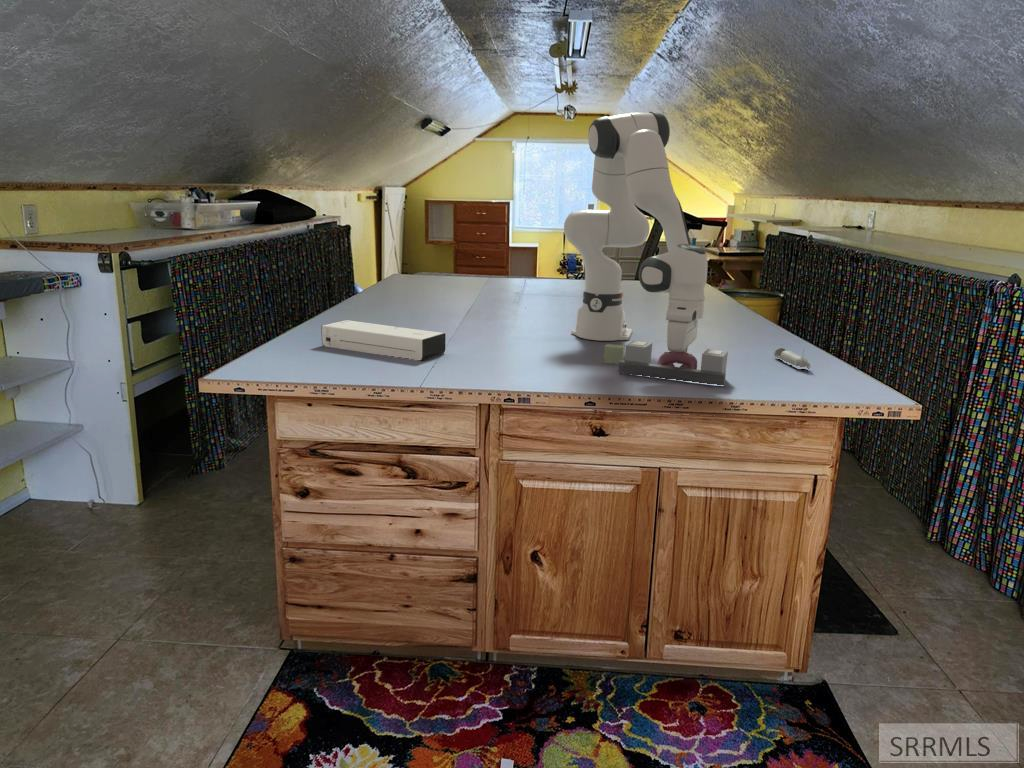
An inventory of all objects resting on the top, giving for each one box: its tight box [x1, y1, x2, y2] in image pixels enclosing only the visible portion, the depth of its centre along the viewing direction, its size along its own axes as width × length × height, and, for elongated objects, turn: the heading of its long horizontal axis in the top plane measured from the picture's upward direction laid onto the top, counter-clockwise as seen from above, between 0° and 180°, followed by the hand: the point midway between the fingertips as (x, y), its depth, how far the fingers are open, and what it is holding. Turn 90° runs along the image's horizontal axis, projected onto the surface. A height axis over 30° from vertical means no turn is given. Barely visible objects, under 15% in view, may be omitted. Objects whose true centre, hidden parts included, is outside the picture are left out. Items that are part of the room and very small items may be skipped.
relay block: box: [603, 343, 626, 364], centre depth 198 cm, size 4×5×4 cm
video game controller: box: [657, 351, 698, 370], centre depth 185 cm, size 10×5×7 cm, turn 72°
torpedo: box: [773, 347, 812, 370], centre depth 200 cm, size 18×5×6 cm, turn 7°
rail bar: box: [618, 359, 727, 385], centre depth 180 cm, size 2×26×3 cm, turn 65°
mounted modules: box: [624, 340, 729, 374], centre depth 184 cm, size 7×24×7 cm, turn 65°
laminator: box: [320, 319, 446, 361], centre depth 203 cm, size 34×12×6 cm, turn 63°
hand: (680, 362), depth 190 cm, fingers closed
